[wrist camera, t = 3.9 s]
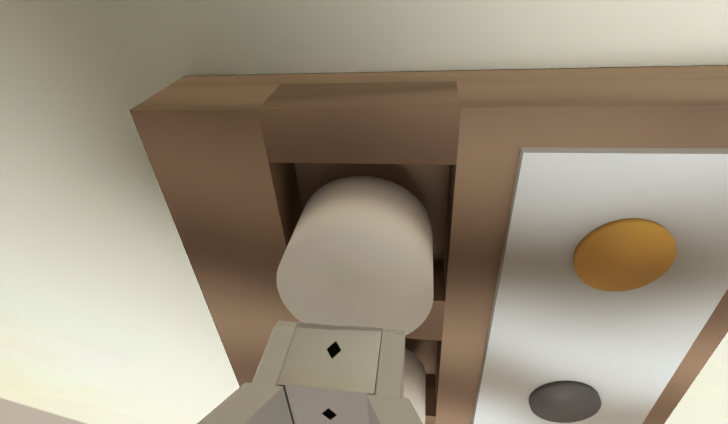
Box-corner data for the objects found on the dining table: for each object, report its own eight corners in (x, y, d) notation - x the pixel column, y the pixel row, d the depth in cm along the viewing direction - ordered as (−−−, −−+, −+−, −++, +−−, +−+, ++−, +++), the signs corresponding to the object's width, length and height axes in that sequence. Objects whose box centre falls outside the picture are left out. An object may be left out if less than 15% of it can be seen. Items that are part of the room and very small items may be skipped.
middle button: (320, 335, 15) (304, 397, 13) (427, 343, 15) (427, 408, 13) (331, 395, 18) (318, 455, 16) (424, 403, 17) (423, 467, 15)
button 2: (291, 174, 11) (262, 227, 9) (435, 176, 11) (437, 233, 9) (310, 277, 14) (289, 338, 12) (430, 283, 13) (430, 349, 11)
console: (185, 76, 13) (118, 117, 10) (781, 64, 11) (908, 113, 8) (292, 429, 26) (275, 491, 23) (578, 459, 23) (599, 532, 20)
